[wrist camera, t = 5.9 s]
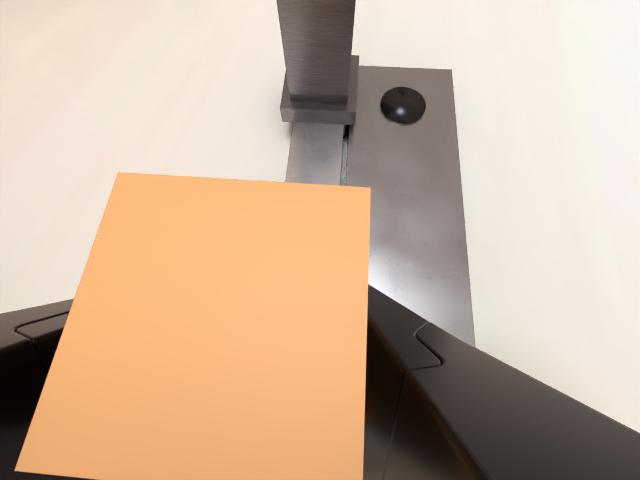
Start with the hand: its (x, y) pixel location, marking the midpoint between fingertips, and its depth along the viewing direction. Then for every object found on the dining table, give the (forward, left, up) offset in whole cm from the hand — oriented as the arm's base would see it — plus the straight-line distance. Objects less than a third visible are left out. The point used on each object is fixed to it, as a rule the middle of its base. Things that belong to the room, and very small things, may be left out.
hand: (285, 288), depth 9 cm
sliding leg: (-1, +1, -5) cm, 5 cm away
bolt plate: (+2, -6, -7) cm, 9 cm away
